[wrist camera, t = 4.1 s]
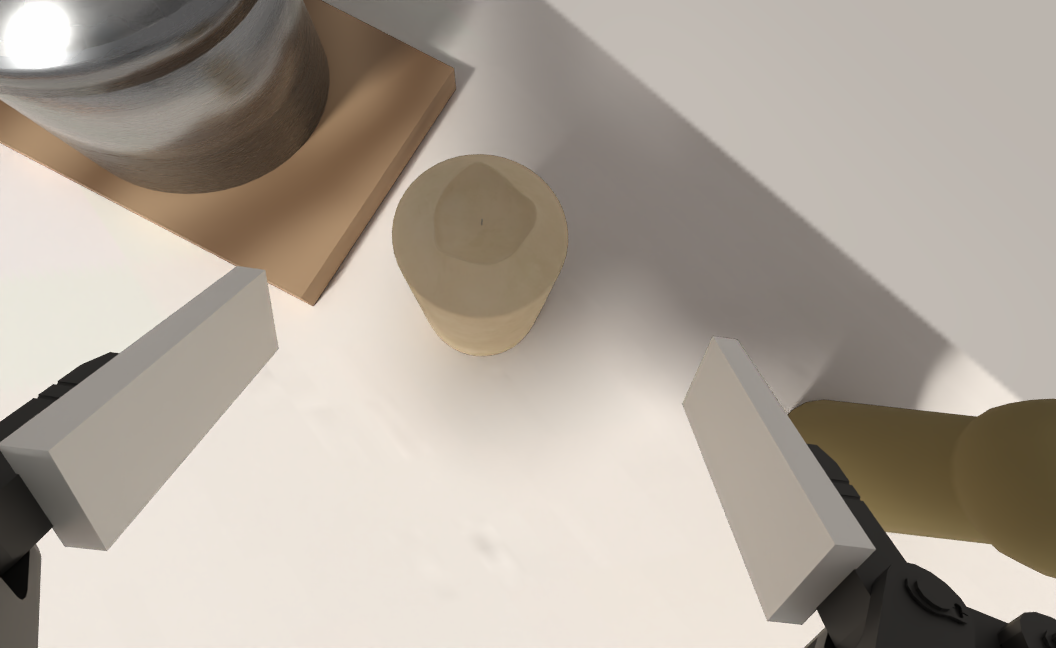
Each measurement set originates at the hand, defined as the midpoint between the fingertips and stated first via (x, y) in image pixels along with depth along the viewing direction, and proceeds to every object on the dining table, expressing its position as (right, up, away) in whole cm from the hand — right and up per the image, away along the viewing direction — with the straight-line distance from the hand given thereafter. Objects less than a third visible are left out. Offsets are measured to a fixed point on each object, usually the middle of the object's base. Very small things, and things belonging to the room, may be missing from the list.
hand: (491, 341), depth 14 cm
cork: (+16, -6, +9) cm, 19 cm away
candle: (-1, +2, +9) cm, 9 cm away
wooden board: (-15, +12, +10) cm, 21 cm away
